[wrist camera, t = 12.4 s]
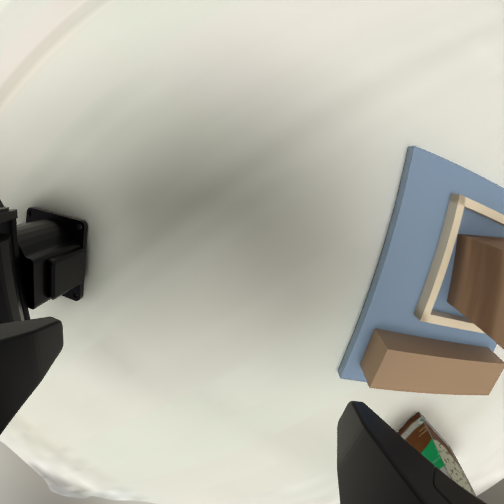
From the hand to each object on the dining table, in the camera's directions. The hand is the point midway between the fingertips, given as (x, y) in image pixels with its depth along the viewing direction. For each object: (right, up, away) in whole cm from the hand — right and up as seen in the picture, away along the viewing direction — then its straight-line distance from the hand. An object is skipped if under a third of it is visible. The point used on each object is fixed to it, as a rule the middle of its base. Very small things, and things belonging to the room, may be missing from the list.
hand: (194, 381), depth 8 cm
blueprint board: (+17, +1, +12) cm, 21 cm away
